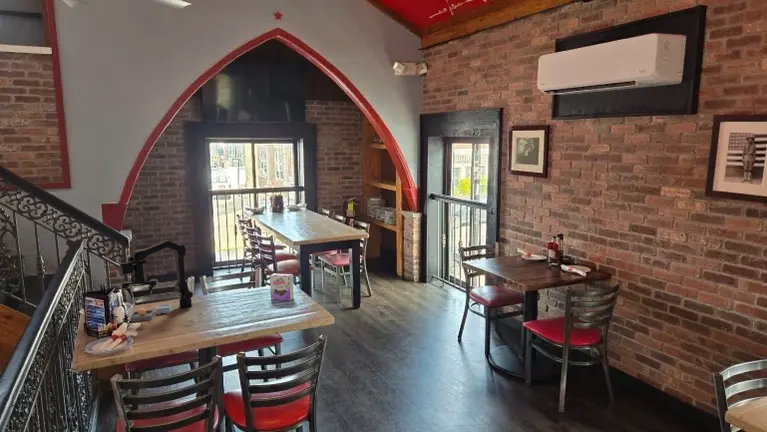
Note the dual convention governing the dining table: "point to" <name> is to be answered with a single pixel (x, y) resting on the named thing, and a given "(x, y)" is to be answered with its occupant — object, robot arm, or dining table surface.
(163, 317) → the dining table surface
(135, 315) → the tray
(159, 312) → the light blue storage bin
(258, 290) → the dining table surface
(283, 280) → the candy box
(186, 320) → the dining table surface
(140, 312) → the ball
